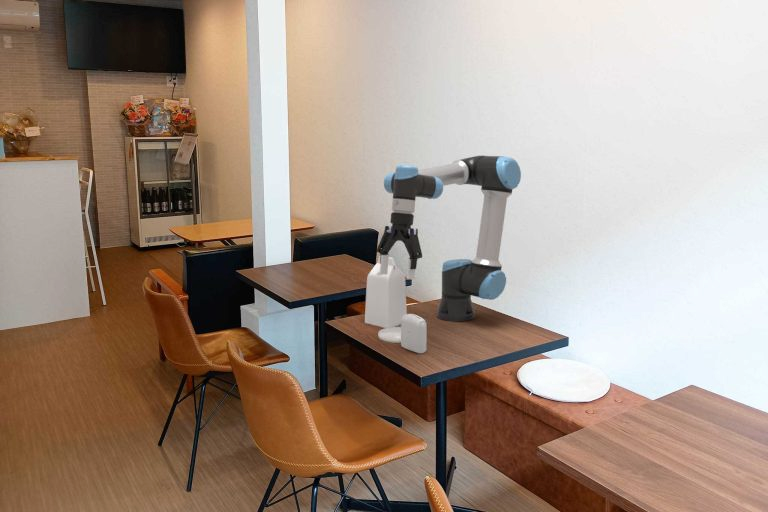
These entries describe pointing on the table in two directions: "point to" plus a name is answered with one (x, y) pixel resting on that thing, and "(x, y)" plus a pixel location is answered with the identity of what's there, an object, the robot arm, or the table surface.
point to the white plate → (390, 334)
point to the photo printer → (413, 333)
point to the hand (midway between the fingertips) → (396, 276)
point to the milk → (385, 296)
